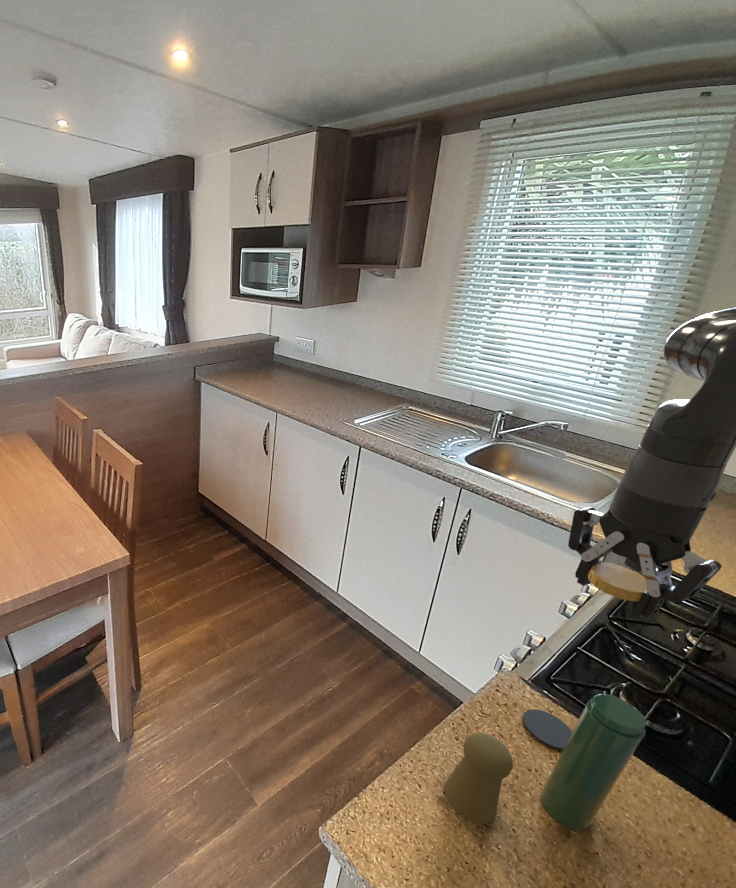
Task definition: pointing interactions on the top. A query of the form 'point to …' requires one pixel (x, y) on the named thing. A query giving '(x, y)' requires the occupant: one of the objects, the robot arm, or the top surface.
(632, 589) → the jar lid
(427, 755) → the top surface
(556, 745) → the coaster
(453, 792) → the cork
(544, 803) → the cylinder
